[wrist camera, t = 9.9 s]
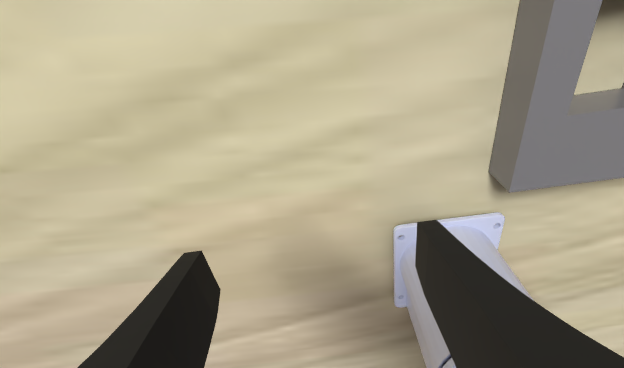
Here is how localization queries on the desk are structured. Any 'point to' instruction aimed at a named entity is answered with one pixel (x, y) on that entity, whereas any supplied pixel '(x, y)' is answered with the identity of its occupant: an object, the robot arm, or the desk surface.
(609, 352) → the robot arm
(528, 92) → the grey board with hole
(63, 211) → the desk surface
